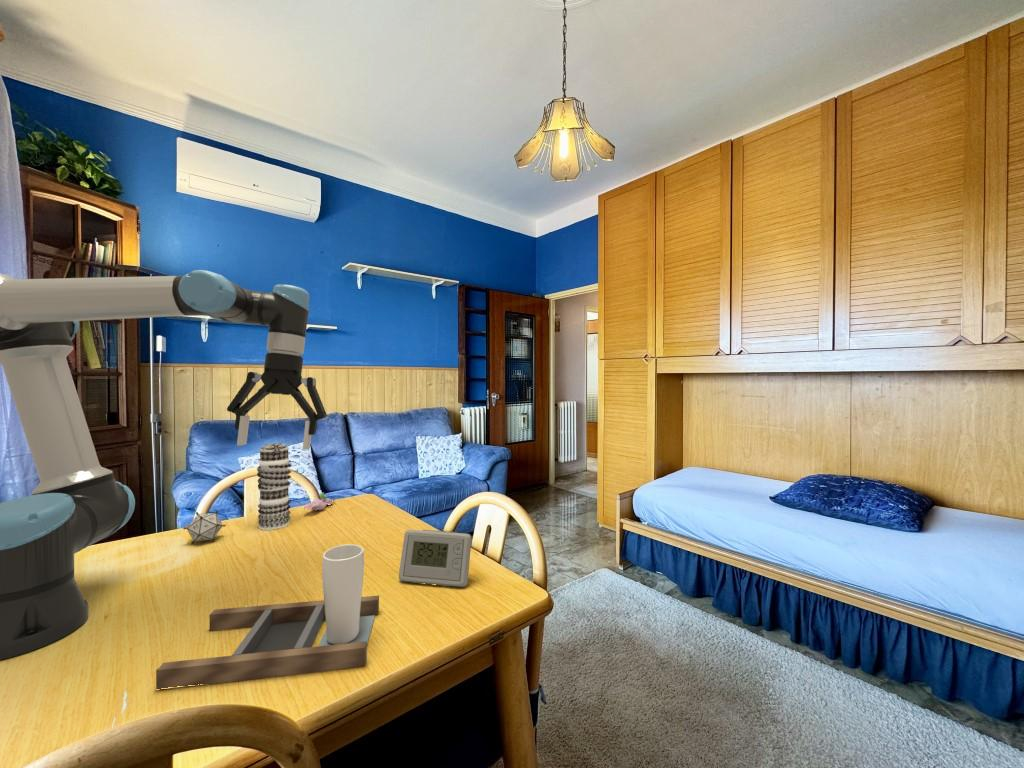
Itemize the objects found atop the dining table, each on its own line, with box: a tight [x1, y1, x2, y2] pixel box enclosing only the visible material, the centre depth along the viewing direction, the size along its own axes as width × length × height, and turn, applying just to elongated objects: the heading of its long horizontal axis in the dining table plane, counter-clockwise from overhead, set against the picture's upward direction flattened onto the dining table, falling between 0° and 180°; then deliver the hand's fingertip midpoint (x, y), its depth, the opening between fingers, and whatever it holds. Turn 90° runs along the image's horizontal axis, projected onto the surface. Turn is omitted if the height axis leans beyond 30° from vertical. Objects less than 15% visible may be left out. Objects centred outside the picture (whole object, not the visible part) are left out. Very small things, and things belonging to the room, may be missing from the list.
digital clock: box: [398, 529, 472, 588], centre depth 92 cm, size 16×9×11 cm, turn 69°
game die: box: [182, 510, 227, 545], centre depth 112 cm, size 9×8×10 cm
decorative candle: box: [256, 442, 292, 531], centre depth 124 cm, size 9×9×25 cm
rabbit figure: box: [303, 492, 336, 511], centre depth 139 cm, size 6×6×15 cm
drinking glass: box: [321, 543, 365, 645], centre depth 71 cm, size 7×7×15 cm
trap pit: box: [231, 605, 324, 656], centre depth 69 cm, size 10×12×3 cm
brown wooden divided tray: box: [155, 595, 380, 690], centre depth 69 cm, size 29×16×3 cm, turn 100°
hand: (274, 447), depth 91 cm, fingers open, 13 cm apart
